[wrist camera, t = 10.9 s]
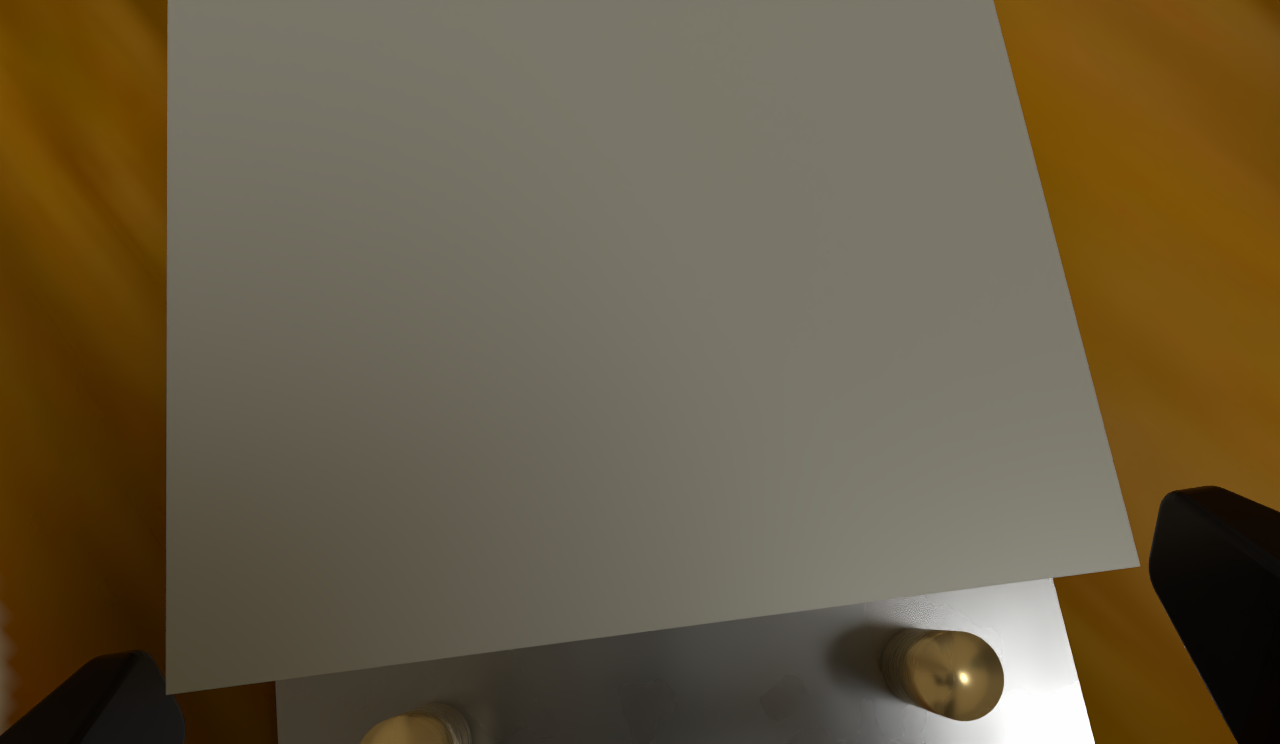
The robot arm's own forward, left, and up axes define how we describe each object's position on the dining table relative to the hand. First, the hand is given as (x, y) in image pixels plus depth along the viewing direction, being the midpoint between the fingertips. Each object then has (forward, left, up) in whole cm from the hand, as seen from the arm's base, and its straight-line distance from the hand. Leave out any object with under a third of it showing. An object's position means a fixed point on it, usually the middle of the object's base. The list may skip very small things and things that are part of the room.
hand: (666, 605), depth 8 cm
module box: (+3, -1, -10) cm, 10 cm away
